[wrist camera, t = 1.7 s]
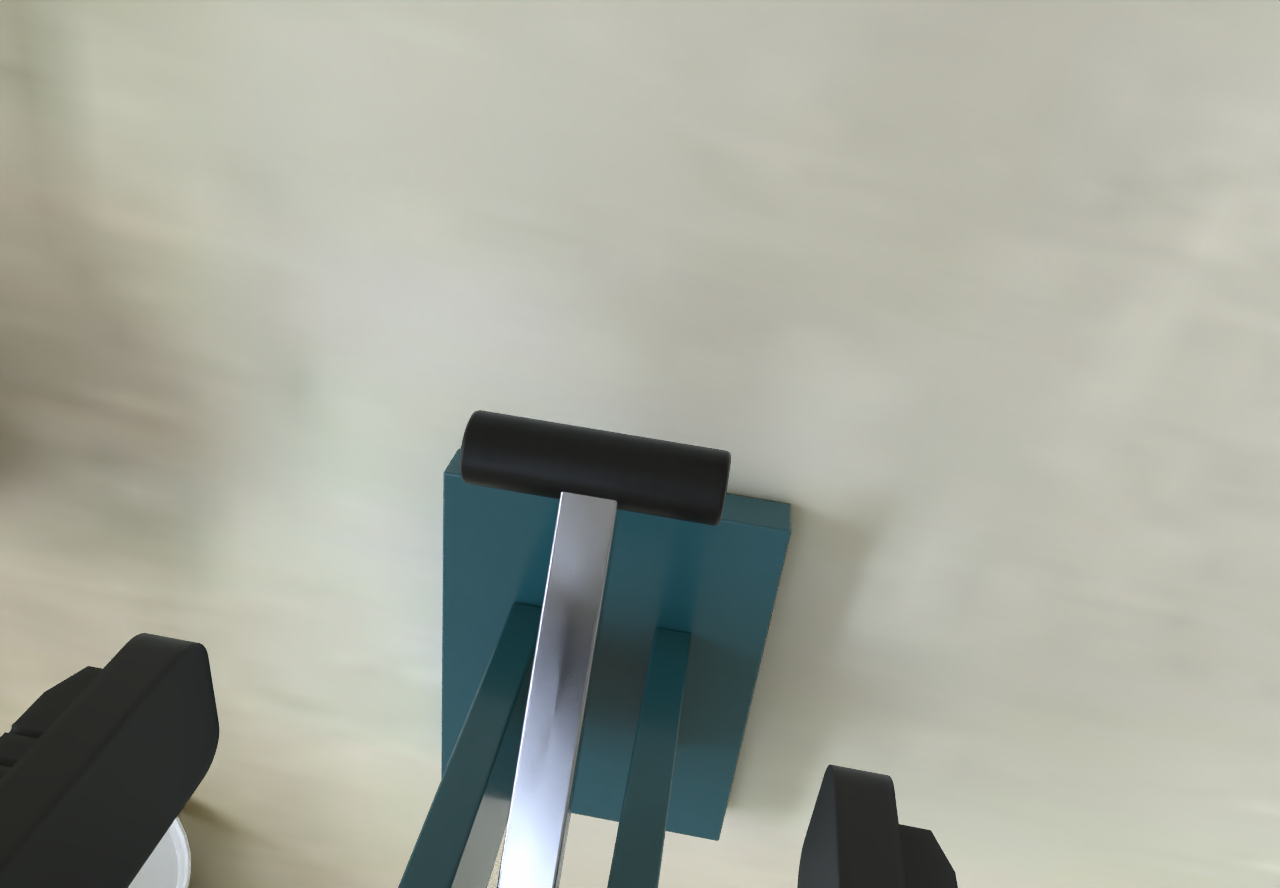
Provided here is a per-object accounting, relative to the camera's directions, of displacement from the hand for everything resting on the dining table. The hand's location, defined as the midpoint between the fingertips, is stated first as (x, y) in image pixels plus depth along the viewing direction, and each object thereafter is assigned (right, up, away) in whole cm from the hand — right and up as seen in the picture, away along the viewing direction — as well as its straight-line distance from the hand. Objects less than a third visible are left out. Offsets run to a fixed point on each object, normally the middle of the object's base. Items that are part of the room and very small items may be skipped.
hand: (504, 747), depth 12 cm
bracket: (+1, -2, +16) cm, 16 cm away
